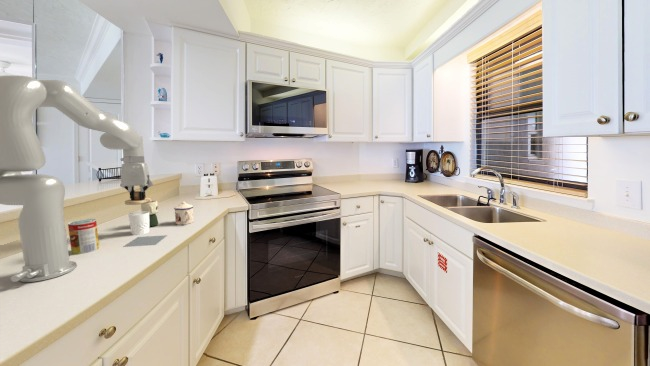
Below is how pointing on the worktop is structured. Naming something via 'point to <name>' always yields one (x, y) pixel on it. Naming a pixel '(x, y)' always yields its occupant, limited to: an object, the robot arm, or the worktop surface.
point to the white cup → (139, 222)
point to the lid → (137, 200)
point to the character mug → (151, 211)
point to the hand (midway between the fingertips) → (138, 199)
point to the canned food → (83, 236)
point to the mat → (145, 241)
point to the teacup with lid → (184, 214)
